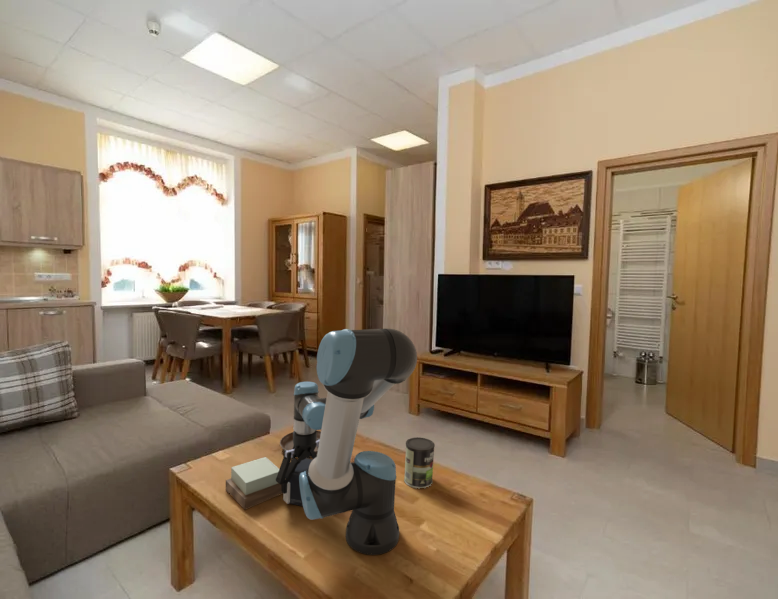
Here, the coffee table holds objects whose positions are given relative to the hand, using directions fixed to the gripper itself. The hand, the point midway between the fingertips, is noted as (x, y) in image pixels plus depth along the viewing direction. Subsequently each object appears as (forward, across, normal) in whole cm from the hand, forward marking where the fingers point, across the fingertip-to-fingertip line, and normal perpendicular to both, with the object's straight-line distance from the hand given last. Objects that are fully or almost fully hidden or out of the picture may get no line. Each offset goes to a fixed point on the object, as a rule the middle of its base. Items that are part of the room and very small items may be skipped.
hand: (303, 494), depth 128 cm
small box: (+1, 0, 0) cm, 1 cm away
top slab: (-3, +10, -13) cm, 17 cm away
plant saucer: (+1, -20, -29) cm, 35 cm away
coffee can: (+1, -36, +19) cm, 41 cm away
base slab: (+1, +10, -13) cm, 17 cm away
